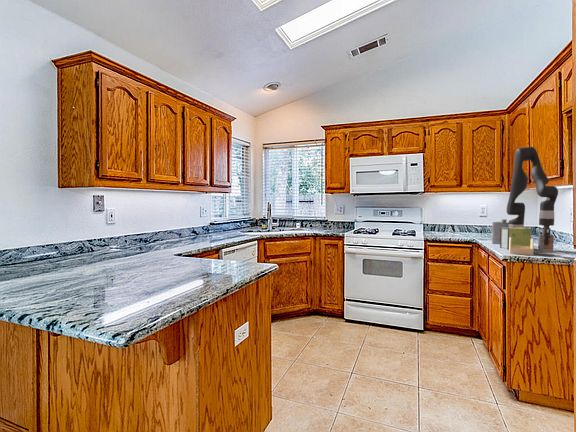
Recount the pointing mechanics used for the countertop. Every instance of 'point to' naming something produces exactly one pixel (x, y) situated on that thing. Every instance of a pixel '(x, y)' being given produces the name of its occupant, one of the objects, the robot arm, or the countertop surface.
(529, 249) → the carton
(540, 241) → the walnut block
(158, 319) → the countertop surface
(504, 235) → the protein box
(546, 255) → the mat
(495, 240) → the hip flask
